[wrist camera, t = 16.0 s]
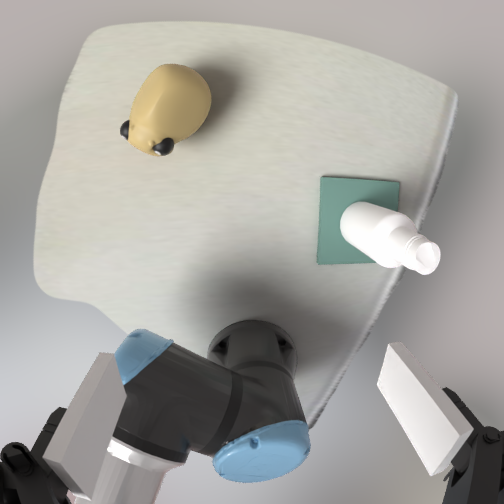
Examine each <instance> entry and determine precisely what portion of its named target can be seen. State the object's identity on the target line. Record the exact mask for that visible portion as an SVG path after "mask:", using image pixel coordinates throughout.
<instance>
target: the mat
mask: <svg viewBox="0 0 504 504" xmlns="http://www.w3.org/2000/svg"><path fill="white" fill-rule="evenodd" d="M398 198H399V182H390V181H378V180H365V179H350V178H333V177H321V181H320V211H319V233H318V250H317V263H318V265H322V264H354V263H377V262H375V261H374V260H373V259H371V258H370V257H368V256H367V255H366V254H364V253H363V252H361V251H360V250H358V249H357V248H356V247H354V246H353V245H351V244H350V243H349V242H347V241H346V240H345V239H344V237H343V236H342V233H341V229H340V220H341V217H342V214H343V213H344V211H345V210H346V208H347V207H349V206H350V205H351V204H353V203H356V202H368V203H371V204H374V205H377V206H380V207H384V208H387V209H390V210H393V211H396V212H398Z"/></svg>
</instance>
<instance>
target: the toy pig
mask: <svg viewBox="0 0 504 504" xmlns="http://www.w3.org/2000/svg"><path fill="white" fill-rule="evenodd" d="M210 106H211V92H210V89H209V86H208V84H207V82H206V81H205V80H204V78H203V77H202V76H201V75H200V74H198V73H197V72H196V71H194V70H192V69H191V68H188V67H186V66H183V65H178V64H164V65H161V66H159V67H158V68H156V69H155V70H154V71H153V72H152V73H151V74H150V75H149V76H148V78H147V79H146V80H145V82H144V83H143V85H142V86H141V88H140V90H139V91H138V93H137V95H136V97H135V100H134V102H133V105H132V108H131V113H130V117H129V120H128V121H126V122H124V123H123V124H122V126H121V129H120V134H121V136H122V137H123V138H124V139H126V140H127V141H128V142H129V143H130V144H131V145H133V146H134V147H136V148H137V149H139V150H141V151H143V152H145V153H147V154H150V155H153V156H164V155H167V154H170V153H171V152H172V151H173V148H174V144H176V143H178V142H180V141H182V140H184V139H186V138H188V137H189V136H191V135H192V134H193V133H194V132H196V131H197V130H198V129H199V127H200V126H201V125H202V124H203V122H204V121H205V119H206V117H207V115H208V113H209V110H210Z"/></svg>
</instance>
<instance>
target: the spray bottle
mask: <svg viewBox="0 0 504 504" xmlns="http://www.w3.org/2000/svg"><path fill="white" fill-rule="evenodd" d="M340 229H341V233H342V236H343V237H344V239H345V240H346V241H347V242H349V243H350V244H351V245H353V246H354V247H356V248H357V249H358V250H360V251H361V252H363V253H364V254H366V255H367V256H368V257H370V258H371V259H373V260H374V261H375V262H377V263H378V264H380V265H381V266H384V267H387V268H397V267H399V266H401V265H404V266H405V267H407V268H408V269H411V270H415V271H417V272H419V273H420V274H423V275H426V274H430V273H431V272H433V271H434V270H435V269H436V267H437V266H438V264H439V261H440V256H441V255H440V249H439V247H438V246H437V244H435V243H433V242H431V241H429V240H428V239H427V238H426V237H425V236H423V235H421V234H418V233H417V229H416V227H415V225H414V223H413V221H412V220H411V219H410V218H409V217H408V216H406V215H404V214H402V213H399V212H396V211H393V210H390V209H387V208H384V207H380V206H377V205H374V204H371V203H368V202H356V203H353V204H351V205H350V206H349V207H347V208H346V210H345V211H344V213H343V214H342V217H341V220H340Z"/></svg>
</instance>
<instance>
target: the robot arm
mask: <svg viewBox="0 0 504 504" xmlns="http://www.w3.org/2000/svg"><path fill="white" fill-rule="evenodd" d="M173 342H174V341H173V340H171V339H170V340H168V339H165V338H163V337H161V336H159V335H157V334H155V333H153V332H151V331H148V330H146V329H137V330H135V331H133V332H132V333H130V334H129V335H128V336H127V338H126V339H125V340H124V341H123V343H122V344H121V345H120V347H119V348H118V349H117V351H116V352H115V354H111V353H99V355H98V357H97V358H96V360H95V361H94V363H93V365H92V366H91V368H90V370H89V372H88V373H87V375H86V377H85V378H84V380H83V382H82V384H81V385H80V387H79V389H78V391H77V392H76V394H75V396H74V398H73V400H72V401H71V403H70V405H69V407H68V409H66V408H61V407H59V408H58V409H57V410H55V411H54V412H53V413H52V414H51V415H50V417H49V419H48V420H47V422H46V424H45V426H44V427H43V431H41V433H40V435H39V436H38V438H37V440H36V442H35V444H34V446H33V448H32V450H31V451H29V450H28V448H27V447H26V446H24V444H22V443H19V442H12V443H9V444H7V445H6V446H5V447H4V448H3V449H2V451H1V454H0V459H1V460H2V462H0V504H71V502H70V500H69V498H68V497H67V495H66V494H67V492H68V489H69V490H70V491H71V492H72V493H73V494H74V496H77V497H76V500H75V502H74V504H154V503H155V500H156V498H157V495H158V493H159V490H160V488H161V485H162V483H163V480H164V478H165V475H166V473H167V472H168V471H169V470H171V469H173V468H177V467H180V466H182V465H184V464H185V462H186V460H187V457H188V454H189V452H190V451H191V450H192V451H195V452H198V453H201V454H204V455H207V456H210V457H212V458H213V466H214V468H215V471H216V472H217V473H219V475H220V476H221V477H223V478H225V479H227V480H231V481H235V482H243V483H252V482H261V481H267V480H270V479H274V478H277V477H280V476H282V475H285V474H287V473H289V472H291V471H293V470H294V469H295V468H297V467H298V466H300V465H301V464H302V463H303V462H304V460H305V459H306V458H307V456H308V454H309V452H310V446H311V445H310V439H309V434H308V431H309V430H308V429H309V427H308V425H307V423H306V420H305V417H304V413H303V410H302V407H301V404H300V401H299V397H298V394H297V391H296V388H295V385H294V376H295V371H296V366H297V354H296V350H295V347H294V344H293V342H292V340H291V338H290V337H289V335H288V334H287V333H286V332H285V331H284V330H282V329H281V328H279V327H278V326H276V325H274V324H271V323H268V322H264V321H243V322H239V323H235V324H233V325H230V326H228V327H226V328H225V329H223V330H222V331H221V332H219V333H218V334H217V335H216V336H215V338H214V339H213V340H212V342H211V344H210V346H209V349H208V355H207V359H206V358H204V357H201V356H199V355H197V354H195V353H193V352H191V351H189V350H187V349H185V348H183V347H181V346H179V345H177V344H175V343H173ZM377 386H378V388H379V390H380V391H381V393H382V394H383V396H384V398H385V399H386V401H387V403H388V404H389V406H390V408H391V409H392V411H393V413H394V414H395V416H396V418H397V419H398V421H399V423H400V424H401V426H402V427H403V429H404V431H405V432H406V434H407V436H408V438H409V439H410V441H411V443H412V445H413V446H414V448H415V450H416V451H417V453H418V455H419V457H420V458H421V460H422V462H423V463H424V465H425V467H426V469H427V471H428V472H429V474H430V476H433V475H435V474H437V473H439V472H441V471H444V470H445V469H446V468H447V466H448V465H449V464H450V462H451V463H452V465H453V466H454V467H453V468H452V469H451V470H450V472H449V473H448V474H447V475H446V477H445V478H444V480H443V481H446V480H447V479H448V477H449V476H450V477H449V481H448V485H447V489H446V492H445V496H444V499H443V503H442V504H504V431H501V432H500V431H499V430H497V429H496V428H494V427H490V426H488V427H484V426H482V424H481V423H480V422H479V421H478V420H477V418H476V417H475V416H474V414H473V413H472V412H471V411H470V410H469V408H468V407H466V405H465V404H464V403H463V401H461V399H460V398H459V397H458V395H457V394H456V393H455V392H453V391H452V390H450V389H448V388H447V387H446V388H443V389H441V387H439V385H438V384H437V383H436V381H435V380H434V379H433V378H432V377H431V376H430V374H429V373H428V372H427V371H426V370H425V368H424V367H423V366H422V365H421V364H420V363H419V362H418V360H417V359H416V358H415V357H414V356H413V355H412V353H411V352H410V351H409V350H408V349H407V348H406V347H405V345H404V344H403V343H402V342H401V341H400V342H394V343H389V344H388V347H387V351H386V354H385V358H384V362H383V365H382V369H381V372H380V376H379V379H378V382H377Z"/></svg>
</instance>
